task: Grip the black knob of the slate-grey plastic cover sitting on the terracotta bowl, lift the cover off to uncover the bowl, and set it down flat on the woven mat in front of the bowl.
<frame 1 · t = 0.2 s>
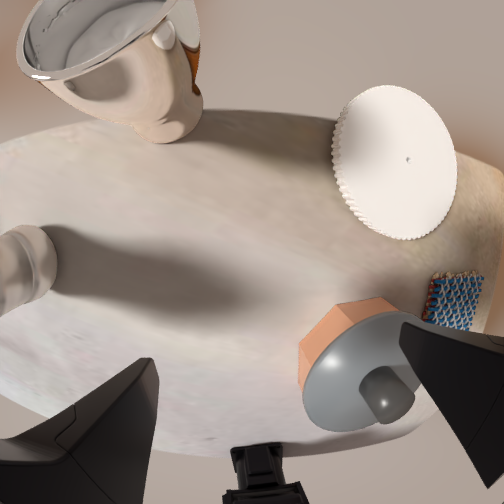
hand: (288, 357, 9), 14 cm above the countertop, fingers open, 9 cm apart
plastic bottle: (41, 256, 20), on the countertop
bowl: (353, 352, 26), on the countertop
woven mat: (445, 309, 27), on the countertop
beer glass: (166, 109, 19), on the countertop
cover: (372, 377, 21), point 4 cm above the countertop, touching bowl
plastic lid: (392, 162, 22), on the countertop
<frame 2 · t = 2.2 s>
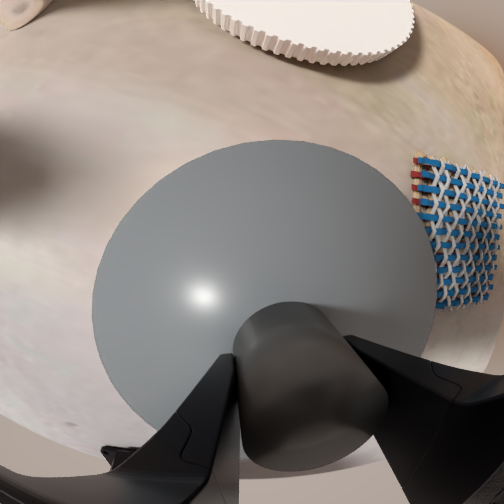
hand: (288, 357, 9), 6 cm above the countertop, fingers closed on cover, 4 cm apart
woven mat: (450, 235, 16), on the countertop
beer glass: (35, 2, 8), on the countertop
cover: (280, 337, 10), point 4 cm above the countertop, touching bowl, gripper
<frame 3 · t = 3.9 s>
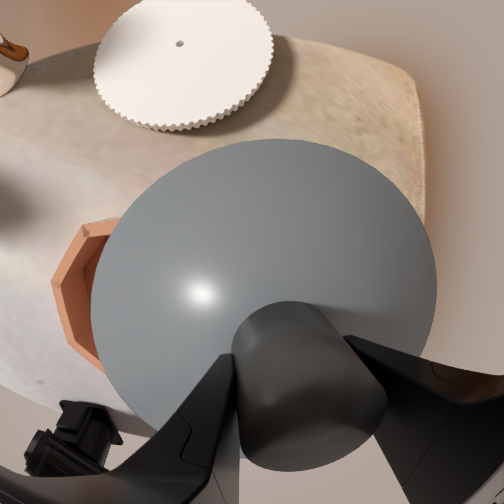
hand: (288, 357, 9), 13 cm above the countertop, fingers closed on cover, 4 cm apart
bowl: (145, 291, 21), on the countertop
beer glass: (10, 71, 14), on the countertop
cover: (279, 337, 10), point 12 cm above the countertop, touching gripper
plastic lid: (183, 59, 18), on the countertop
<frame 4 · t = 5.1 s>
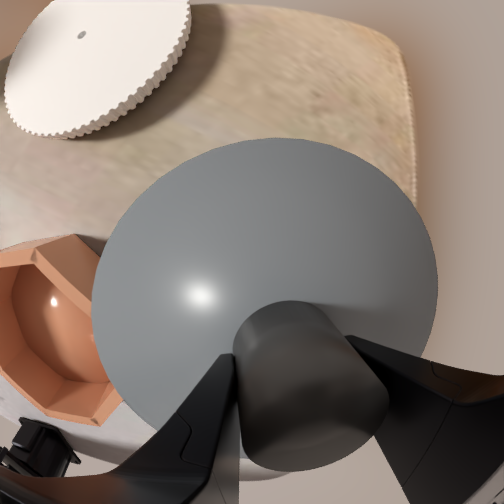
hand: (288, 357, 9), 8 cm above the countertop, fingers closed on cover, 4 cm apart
bowl: (66, 320, 16), on the countertop
cover: (280, 337, 10), point 7 cm above the countertop, touching gripper
plastic lid: (96, 51, 13), on the countertop
when the fingers open (5 cm above the countertop, at t = 6.0 s): cover drops 2 cm, point 1 cm above the countertop.
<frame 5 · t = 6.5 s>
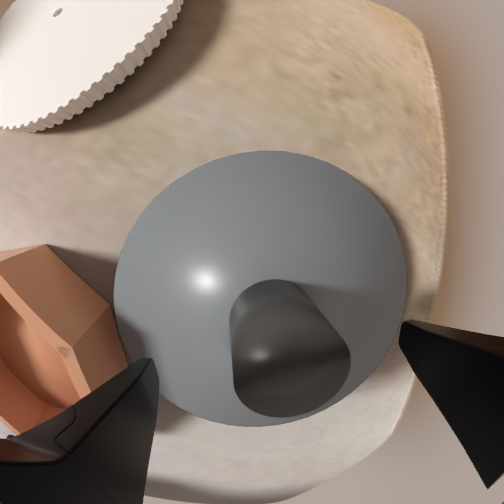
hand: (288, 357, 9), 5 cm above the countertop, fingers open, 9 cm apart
bowl: (43, 342, 13), on the countertop
cover: (269, 312, 12), point 1 cm above the countertop
plastic lid: (76, 32, 9), on the countertop
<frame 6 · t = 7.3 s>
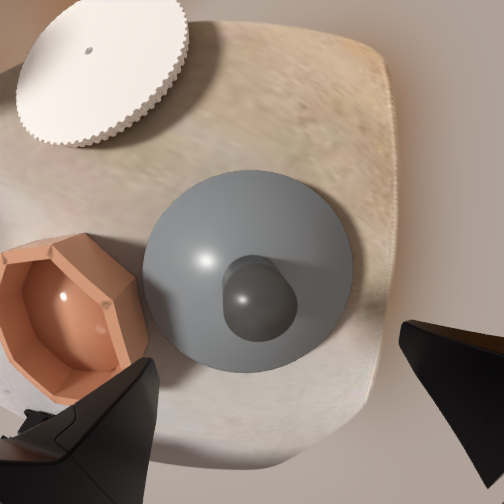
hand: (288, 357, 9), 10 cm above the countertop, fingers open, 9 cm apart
bowl: (75, 312, 18), on the countertop
cover: (250, 279, 18), point 1 cm above the countertop, touching woven mat
plastic lid: (102, 65, 15), on the countertop
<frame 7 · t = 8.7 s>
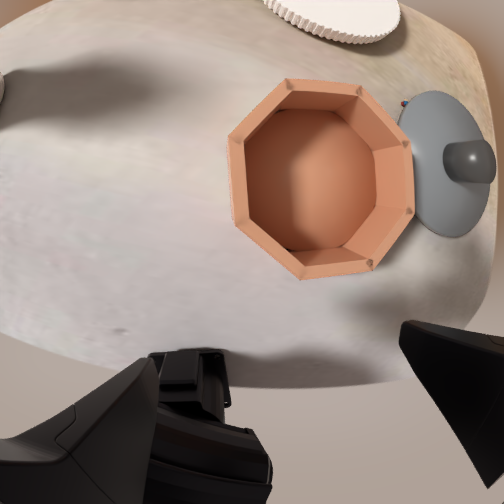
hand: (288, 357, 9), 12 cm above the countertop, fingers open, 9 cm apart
bowl: (311, 178, 19), on the countertop
cover: (449, 162, 19), point 1 cm above the countertop, touching woven mat
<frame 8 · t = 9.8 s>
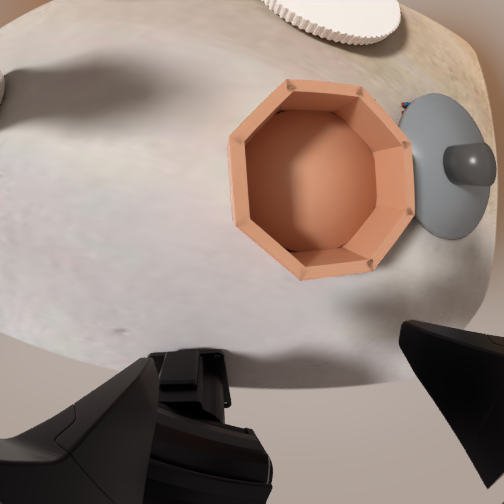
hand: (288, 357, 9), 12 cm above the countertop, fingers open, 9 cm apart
bowl: (312, 179, 19), on the countertop
cover: (449, 165, 19), point 1 cm above the countertop, touching woven mat
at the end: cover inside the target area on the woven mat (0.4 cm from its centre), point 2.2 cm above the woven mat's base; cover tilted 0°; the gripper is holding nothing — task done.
